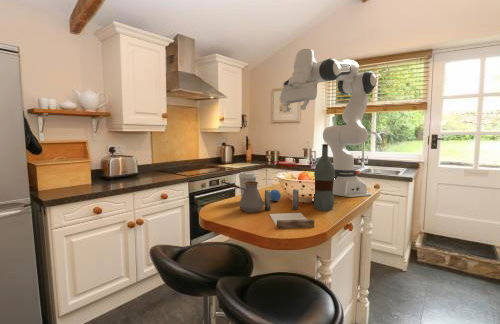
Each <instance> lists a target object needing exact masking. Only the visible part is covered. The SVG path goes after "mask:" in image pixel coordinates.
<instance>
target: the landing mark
mask: <svg viewBox="0 0 500 324" xmlns="http://www.w3.org/2000/svg"><path fill="white" fill-rule="evenodd" d="M269 216H270V218H271V219H272V221H273V223H274V225H275V226H277V220H300V219H307V217H305V215H303V214H302V212H292V213H291V212H290V213H288V212H287V213H269Z"/></svg>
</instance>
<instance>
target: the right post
mask: <svg viewBox="0 0 500 324" xmlns="http://www.w3.org/2000/svg"><path fill="white" fill-rule="evenodd" d="M292 210H295V211H297V210H299V189H295V188H294V189H292Z"/></svg>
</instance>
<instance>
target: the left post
mask: <svg viewBox="0 0 500 324" xmlns="http://www.w3.org/2000/svg"><path fill="white" fill-rule="evenodd" d="M271 191H272V190H268V189H265V190H264V211H267V212H269V211H271V199H270V196H271Z"/></svg>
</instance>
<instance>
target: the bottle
mask: <svg viewBox="0 0 500 324" xmlns="http://www.w3.org/2000/svg"><path fill="white" fill-rule="evenodd" d="M328 146H329V145H328V144H327V143H323V144H321V147H322V148H321V156H320V158H319V160H318V161H317V163H316V164H315V167H314V172H313V174H314V176H313V177H315V194H314V202H313V205H314V209H315V210H317V211H322V212H330V211H332V210H333V208H334V203H335V197H334V196H335V195H333V183H334V175H335V172H334V166H333V162H332V161H331V159H330V157H329V152H328V151H329V147H328Z"/></svg>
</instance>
